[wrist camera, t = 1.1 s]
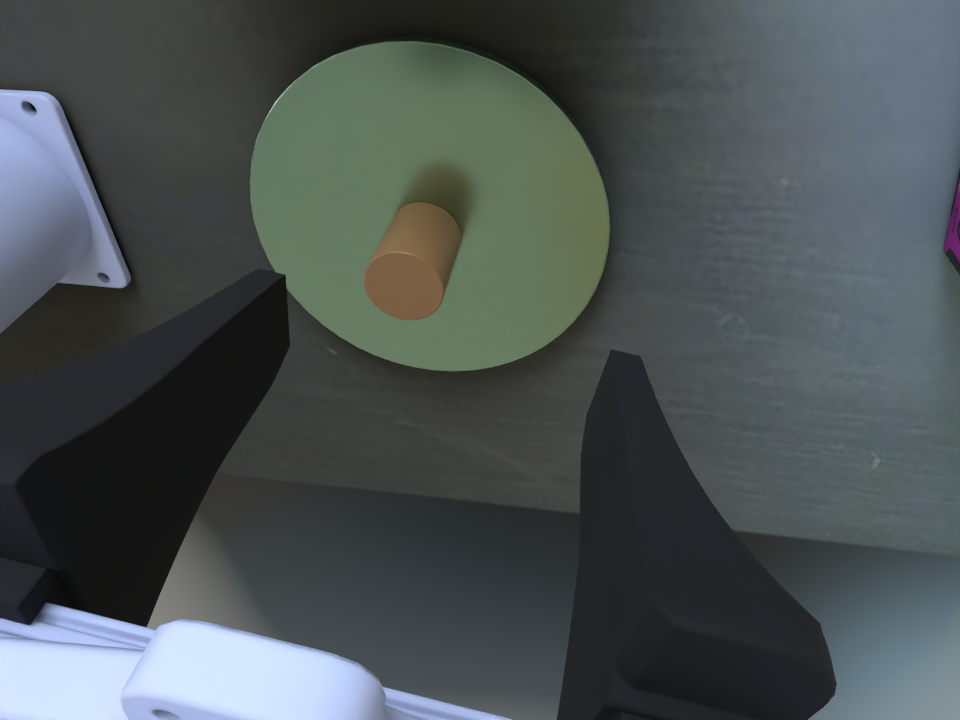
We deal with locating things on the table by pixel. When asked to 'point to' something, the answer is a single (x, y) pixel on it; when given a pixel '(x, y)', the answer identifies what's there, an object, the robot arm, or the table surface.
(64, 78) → the table surface
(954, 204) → the candy bar box
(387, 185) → the tin lid
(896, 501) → the table surface
